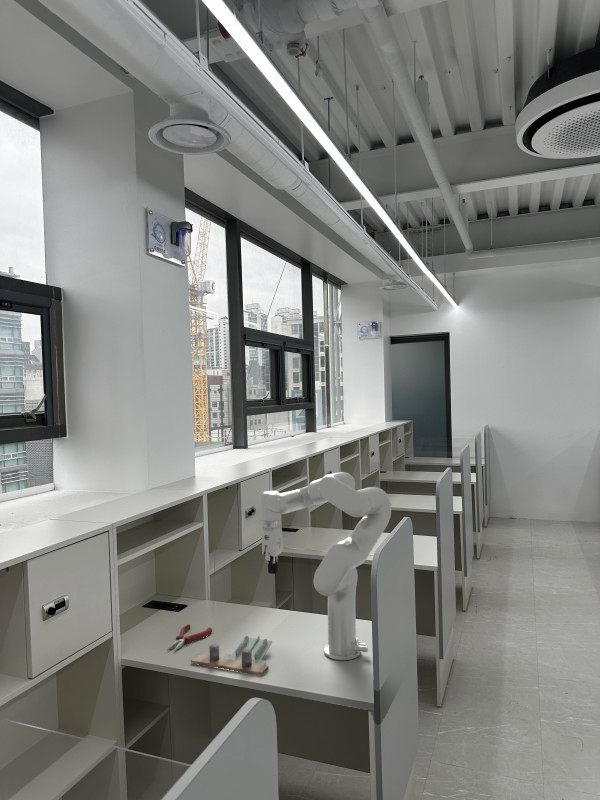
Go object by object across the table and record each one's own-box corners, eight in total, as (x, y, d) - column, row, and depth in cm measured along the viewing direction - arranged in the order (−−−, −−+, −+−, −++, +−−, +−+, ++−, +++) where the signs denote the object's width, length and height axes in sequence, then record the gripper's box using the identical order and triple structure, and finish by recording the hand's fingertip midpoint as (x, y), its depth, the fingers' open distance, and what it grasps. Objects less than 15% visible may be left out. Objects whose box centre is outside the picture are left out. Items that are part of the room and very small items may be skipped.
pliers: (156, 651, 196) (156, 643, 196) (187, 629, 215) (187, 622, 215) (184, 656, 192) (184, 648, 192) (213, 633, 211) (213, 626, 211)
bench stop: (268, 669, 180) (268, 652, 181) (262, 676, 176) (261, 659, 176) (199, 657, 190) (198, 641, 190) (191, 663, 185) (190, 647, 185)
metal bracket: (240, 630, 199) (278, 636, 193) (242, 643, 200) (280, 650, 194) (220, 657, 186) (259, 665, 180) (222, 672, 188) (262, 680, 182)
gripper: (272, 528, 202) (274, 579, 202) (288, 520, 216) (289, 568, 216) (254, 527, 205) (255, 578, 204) (270, 519, 219) (271, 566, 218)
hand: (272, 572), depth 210 cm, fingers closed
